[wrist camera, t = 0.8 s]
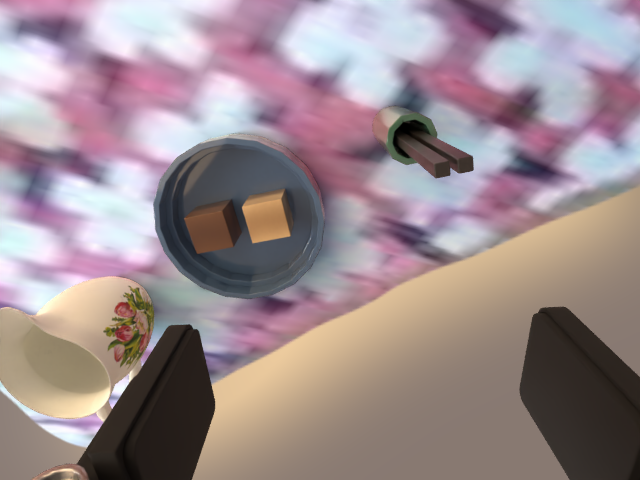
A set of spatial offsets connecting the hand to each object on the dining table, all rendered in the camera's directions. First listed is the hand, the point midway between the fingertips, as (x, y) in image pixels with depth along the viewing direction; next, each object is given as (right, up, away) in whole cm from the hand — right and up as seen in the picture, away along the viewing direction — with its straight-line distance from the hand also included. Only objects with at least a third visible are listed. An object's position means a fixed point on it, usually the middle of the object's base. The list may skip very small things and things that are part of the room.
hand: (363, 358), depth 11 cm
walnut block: (-12, +6, +31) cm, 34 cm away
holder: (+6, +15, +28) cm, 32 cm away
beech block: (-7, +7, +31) cm, 32 cm away
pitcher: (-25, -5, +37) cm, 45 cm away
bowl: (-9, +6, +32) cm, 34 cm away
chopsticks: (+6, +15, +27) cm, 32 cm away
